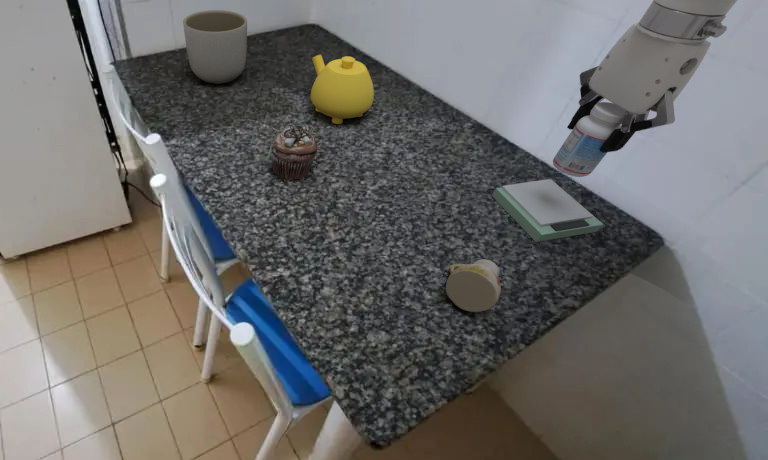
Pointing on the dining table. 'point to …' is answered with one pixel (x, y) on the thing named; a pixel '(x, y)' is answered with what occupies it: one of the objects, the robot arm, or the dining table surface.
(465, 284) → the white floral pitcher
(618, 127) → the pill bottle
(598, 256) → the dining table surface
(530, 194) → the scale
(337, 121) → the teapot
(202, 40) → the planter
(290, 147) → the cupcake
